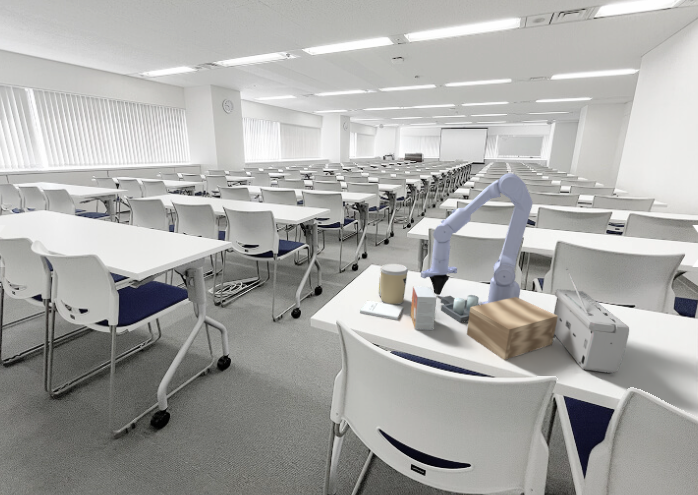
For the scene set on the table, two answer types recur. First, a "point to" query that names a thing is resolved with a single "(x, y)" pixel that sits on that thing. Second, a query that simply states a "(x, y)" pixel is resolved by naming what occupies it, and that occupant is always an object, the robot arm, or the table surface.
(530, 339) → the wood grain block
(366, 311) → the external hard drive
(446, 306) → the tray
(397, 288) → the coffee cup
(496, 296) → the robot arm
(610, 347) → the stereo radio cassette player
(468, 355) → the table surface
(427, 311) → the small box
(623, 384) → the table surface
